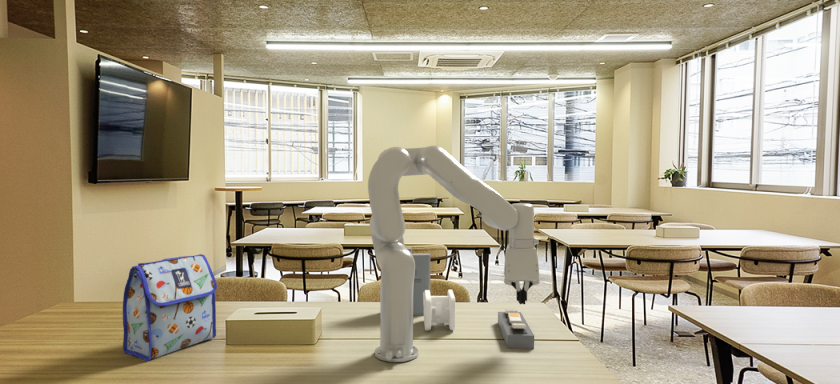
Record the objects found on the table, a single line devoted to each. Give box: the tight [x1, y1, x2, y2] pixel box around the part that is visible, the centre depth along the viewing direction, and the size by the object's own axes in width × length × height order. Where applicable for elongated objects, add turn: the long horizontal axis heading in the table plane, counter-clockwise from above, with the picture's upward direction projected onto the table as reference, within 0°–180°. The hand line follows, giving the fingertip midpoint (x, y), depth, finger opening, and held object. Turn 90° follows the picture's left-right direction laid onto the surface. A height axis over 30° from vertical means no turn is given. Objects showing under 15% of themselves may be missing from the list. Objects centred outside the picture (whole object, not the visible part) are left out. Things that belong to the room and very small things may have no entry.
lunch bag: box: [122, 253, 218, 362], centre depth 145 cm, size 23×17×27 cm
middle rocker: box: [508, 313, 522, 323], centre depth 159 cm, size 5×4×1 cm
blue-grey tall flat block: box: [405, 246, 431, 316], centre depth 182 cm, size 17×5×25 cm, turn 89°
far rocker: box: [504, 308, 519, 313], centre depth 167 cm, size 5×4×1 cm
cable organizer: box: [423, 289, 456, 332], centre depth 167 cm, size 15×11×12 cm
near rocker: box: [512, 323, 526, 328], centre depth 151 cm, size 5×4×1 cm
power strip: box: [497, 311, 535, 350], centre depth 164 cm, size 34×8×5 cm, turn 177°
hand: (521, 303), depth 149 cm, fingers closed
